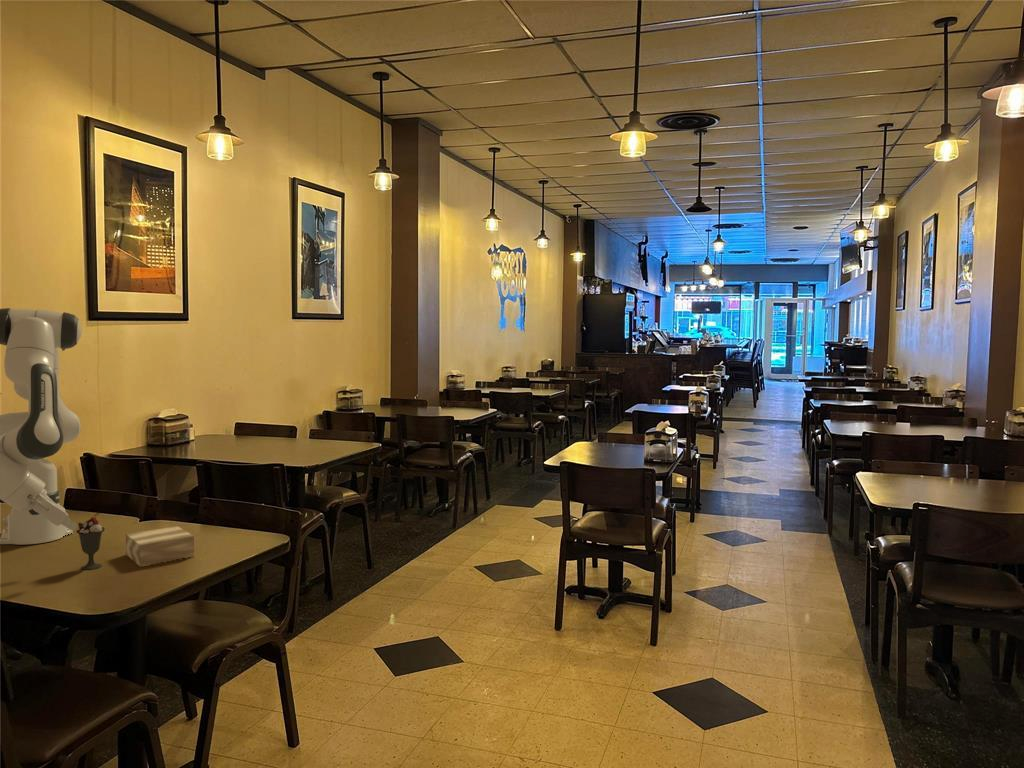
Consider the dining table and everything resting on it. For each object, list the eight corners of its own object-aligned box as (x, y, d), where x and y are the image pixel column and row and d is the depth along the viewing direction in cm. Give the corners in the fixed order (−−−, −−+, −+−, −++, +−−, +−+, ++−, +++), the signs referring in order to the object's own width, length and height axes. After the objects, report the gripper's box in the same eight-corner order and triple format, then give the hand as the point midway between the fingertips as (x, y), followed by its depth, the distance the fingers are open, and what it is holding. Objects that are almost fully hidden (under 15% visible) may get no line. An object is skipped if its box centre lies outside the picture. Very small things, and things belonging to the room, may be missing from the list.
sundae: (109, 567, 194) (108, 512, 193) (81, 572, 189) (80, 516, 188) (101, 561, 198) (99, 508, 197) (73, 567, 193) (72, 512, 192)
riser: (126, 554, 205) (125, 534, 204) (177, 545, 214) (177, 525, 214) (140, 566, 194) (140, 545, 194) (194, 556, 204) (193, 536, 203)
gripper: (43, 489, 176) (89, 522, 183) (28, 477, 191) (72, 507, 198) (22, 510, 173) (70, 542, 180) (9, 495, 188) (53, 526, 196)
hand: (71, 524), depth 189 cm, fingers open, 8 cm apart
